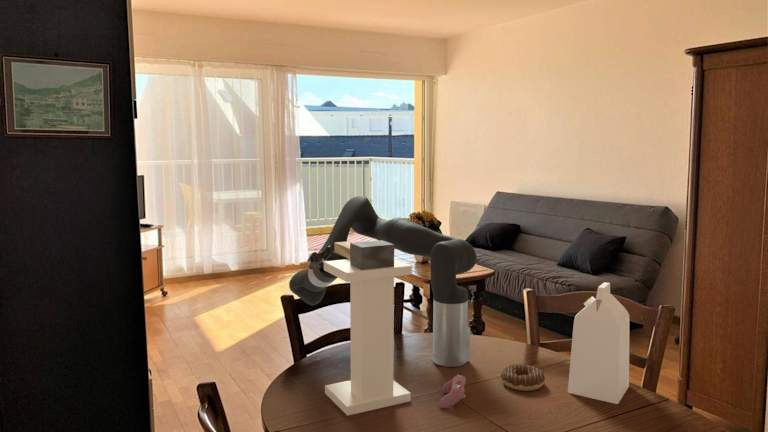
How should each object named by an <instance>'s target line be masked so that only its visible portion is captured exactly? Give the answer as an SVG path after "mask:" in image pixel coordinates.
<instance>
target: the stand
mask: <svg viewBox="0 0 768 432" xmlns="http://www.w3.org/2000/svg"><path fill="white" fill-rule="evenodd" d="M412 267H413V265H412V264H409V263H406V262H403V261H401V260H399V259H396V258H394V267H385V268H376V269H367V270H360V269H358V268H356V267H354V266H352V265H350V259H344V260H334V261H324V270H325V271H327V272H329V273H330V274H332V275H334V276H336V277H338V278H337V279H340V280H342V281H344V282H346V283H349V285H350V287H349V288H350V290H349V291H350V295H349V296H350V297H349V298H350V299H349V300H350V301H349V302H350V303H349V307H350V314H349V315H350V380H345V381H341V382H335V383H331V384H330V383H329V384H325V385H324V394H325V395H326V396H327V397H328V398H329V399H330V400H331V401H332V402H333V403H334V405H336V406H337V407H338V408H339V409H340V410H341V411H342V412H343V413H344V414H345V415H346V416H352V415H356V414H360V413H366V412H369V411H374V410H378V409H379V410H380V409H382V408H387V407H391V406H396V405H400V404H404V403H409V402H411V401H412V399H411V397H412V396H411V395H412V393H411V392H410V391H409V390H408V389H406V388H405V387H403V386H402V385H401V384H399V383H398V382H397V381H396V380H395V379H394V374H395V373H394V370H395V369H394V366H395V365H394V364H395V363H394V357H395V355H394V353H395V352H394V351H395V350H394V347H395V344H394V343H395V342H394V339H395V337H394V335H395V332H394V331H395V329H394V327H395V322H394V321H395V277H402V276H409V275H413V268H412Z"/></svg>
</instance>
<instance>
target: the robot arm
mask: <svg viewBox="0 0 768 432" xmlns="http://www.w3.org/2000/svg"><path fill="white" fill-rule="evenodd" d="M350 230H352V231H353V232H354V233H356V234H358V235H361V236H364V237H368V238H371V239H375V240H376V241H379V240H383V241H386V242H389V243H392V244H394V250H395V249H396V250H398V251H399V252H402V253H405V254H409V255H413V256H421V257H428V258H429V268H430V286H431V287H430V288H431V292H432V294H433V295H432V296H433V300H432V301H433V303H432V304H433V307H432V308H433V309H432V310H433V312H432V313H433V314H432V317H433V319H432V362H433V363H434V364H436V365H438V366H442V367H449V368H453V367H461V366H464V365H466V364H467V363H468V362H470V361H471V360H470V359H471V357H470V356H471V327H470V326H468V315H469V314H468V312H469V311H468V308H469V305H468V302H469V292H468V289H466V288H465V287H463V286H461V285H458V283H457V275H460V274H464V273H467V272H470V271H471V270H472V269H473V268H474V267H475V265H476V264H477V253H476V251H475V248H474V247H473V245H471V243H469V242H468V241H467V240H464V239H461V238H458V237H455V236H450V235H446V234H443V233H439V232H437V231H435V230H433V229H431V228H428V227H425V226H423V225H421V224H418V223H417V222H414V221H412V220H409V219H407V218H403V217H394V218H391V219H389V220H388V221H387V220H385V219H383V218H382V217H380V216H379V215H378V214H377V212H376V210H375V208H374V207H373V204H372V202H371V201H370V200H369V199H368V197H367V196H365V195H356V196H354V197H351V198H350V199H349V200H348V201H346V203H345V204H344V205H343V207H342V209H341V211H340V213H339V215H338V217H337V218H336V220H335V223H334V224H333V227H332V229H331V232H330V233H329V234H328V235H329V236H328V237H327V239H326V240H325V242H324V244H323V245H322V247H321V248H320V249H319V251H318V252H316V251H314V252H312V253H311V254H310V256H309V257H308V258H307V264H308V268H305V269H301V270H299V271H297V272H296V273H295V274H293V276H292V277H291V278H290V280H289V283H288V287H289V290H290V291H291V292H292V293H293V294H294V295H296V296H297V297H298V298H299V299H301V300H302V301H303V302H305V304H308V305H309V306H316V305H318V304H319V303H320V302H322V299H323V298H324V296H325V293H326V291H327V287H328V286H330V285H331V284H333V282H334V281H336V280H337V279H339V278H338V277H336V276H334V275H332V274H330V273H329V272H327V271H325V270H324V261H334V260H344V259H348V258H346V257H344V256H342V255H339V254H337V253H335V245H334V243H335V242H348V238H349V234H350V232H351V231H350Z"/></svg>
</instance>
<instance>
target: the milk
mask: <svg viewBox="0 0 768 432" xmlns="http://www.w3.org/2000/svg"><path fill="white" fill-rule="evenodd" d="M595 296H596V297H594V296H590V298H588V299H587V300H586V301H584V303H583V305H584V306H585V307H583V308H582V309H581V310H580V311H579V312H577V314H575V316H574V319H573V328H572V336H571V337H572V338H571V339H572V340H571V348H570V349H571V351H570V352H571V353H570V360H569V364H570V365H569V371H568V373H569V374H568V382H567V383H568V385H567V394H572V395H576V396H579V397H585V398H589V399H593V400H598V401H603V402H607V403H610V404H611V403H612V404H615V405H618V404H620V402H621V400H622V398H623V397H624V395H626V394H625V393H626V392H627V390H628V389H629V387H630V314H629V312H628V310H627V309H626V307H625V306H624V305H622V304H621V302H620V301H619V300H618V299H617V298H616V297H615V296H614V295H613V294H612V293H611V283H610V282H605V281H604V282H603V283H601V284H600V285H598V287H597V290H596V295H595Z"/></svg>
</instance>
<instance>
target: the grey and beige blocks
mask: <svg viewBox="0 0 768 432" xmlns="http://www.w3.org/2000/svg"><path fill="white" fill-rule="evenodd" d="M334 245H335V253H337V254H339V255H342V256H344V257H346V258H348V259H350V265H352V266H354V267H356V268H358V269H360V270H367V269H376V268H385V267H394V259H395V248H394V244H392V243H389V242H386V241H383V240H369V241H359V242H358V241H357V242H348V241H347V242H335V243H334Z"/></svg>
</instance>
